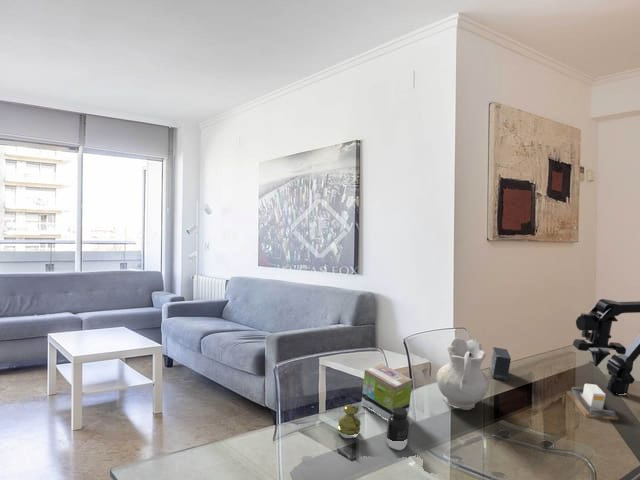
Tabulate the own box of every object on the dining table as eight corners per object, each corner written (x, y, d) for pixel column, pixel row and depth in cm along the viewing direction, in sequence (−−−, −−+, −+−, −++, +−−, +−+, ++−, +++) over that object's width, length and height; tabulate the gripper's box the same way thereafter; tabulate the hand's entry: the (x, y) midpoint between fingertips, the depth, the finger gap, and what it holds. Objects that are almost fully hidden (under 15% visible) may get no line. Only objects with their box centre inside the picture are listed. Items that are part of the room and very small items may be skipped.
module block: (593, 398, 199) (596, 384, 198) (602, 409, 191) (605, 394, 190) (582, 397, 199) (584, 383, 198) (590, 407, 191) (593, 393, 190)
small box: (508, 381, 212) (511, 358, 210) (492, 378, 213) (495, 356, 211) (504, 370, 222) (507, 348, 220) (489, 368, 223) (492, 346, 221)
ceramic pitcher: (492, 424, 179) (507, 360, 175) (439, 416, 179) (453, 352, 174) (475, 394, 200) (488, 337, 196) (427, 387, 200) (439, 330, 195)
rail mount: (596, 396, 204) (598, 389, 203) (618, 420, 186) (619, 413, 186) (566, 393, 205) (568, 386, 204) (585, 416, 187) (586, 409, 187)
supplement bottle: (408, 441, 163) (412, 408, 160) (404, 453, 156) (409, 419, 154) (388, 436, 165) (391, 403, 163) (383, 447, 159) (387, 413, 156)
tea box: (360, 406, 183) (363, 369, 180) (378, 398, 189) (382, 362, 186) (391, 425, 172) (395, 386, 169) (409, 416, 178) (413, 378, 175)
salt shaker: (332, 432, 165) (335, 405, 163) (347, 424, 170) (349, 397, 168) (349, 442, 160) (352, 414, 158) (364, 433, 165) (366, 406, 163)
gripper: (615, 325, 209) (609, 359, 212) (570, 321, 210) (564, 355, 213) (629, 335, 198) (622, 371, 201) (582, 331, 199) (575, 367, 202)
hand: (595, 365), depth 205 cm, fingers closed
